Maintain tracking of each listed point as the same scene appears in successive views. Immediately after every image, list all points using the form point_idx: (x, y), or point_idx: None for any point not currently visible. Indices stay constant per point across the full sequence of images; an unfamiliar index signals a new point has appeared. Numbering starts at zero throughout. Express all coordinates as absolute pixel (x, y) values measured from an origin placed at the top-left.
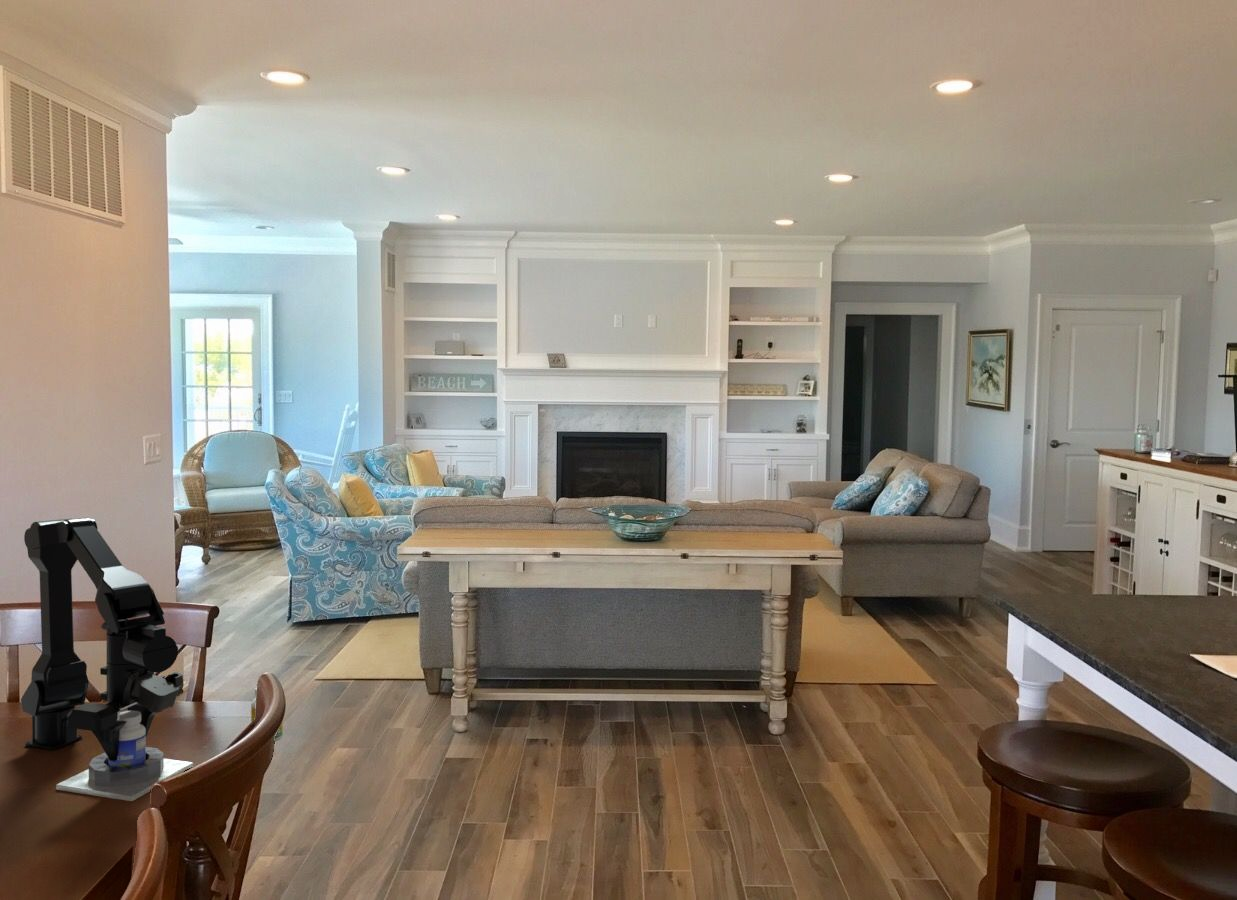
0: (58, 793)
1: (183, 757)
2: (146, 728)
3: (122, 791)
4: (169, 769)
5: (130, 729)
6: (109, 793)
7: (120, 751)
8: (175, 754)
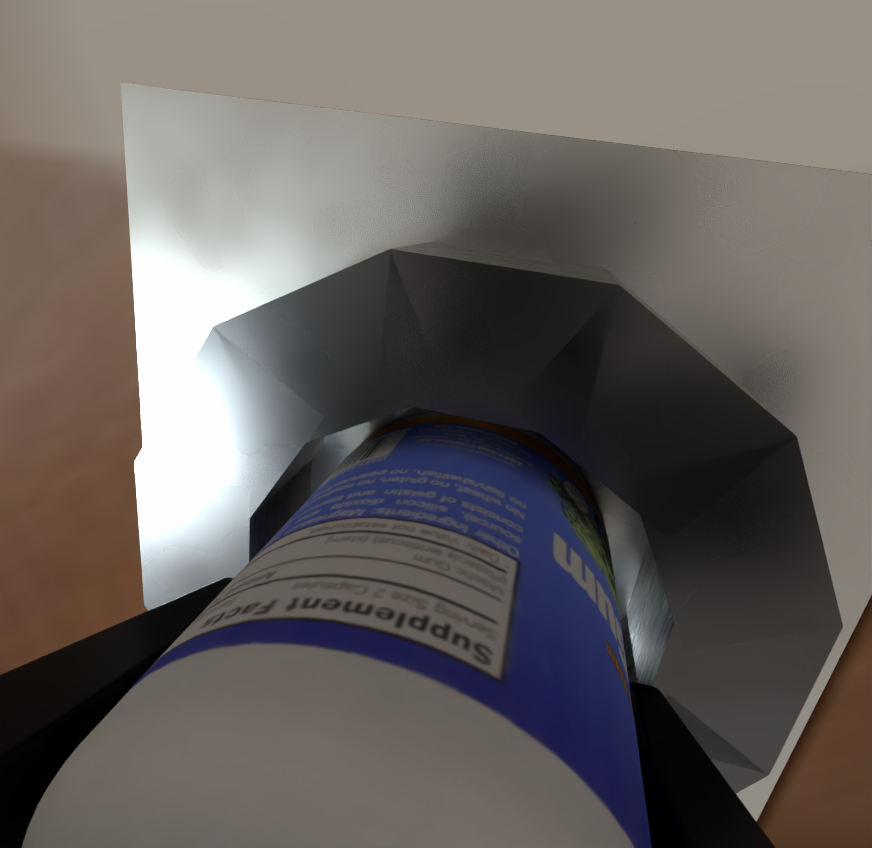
0: (783, 811)
1: (34, 301)
2: (25, 720)
3: None
4: (319, 218)
5: None
6: None
7: (636, 735)
8: (19, 389)
